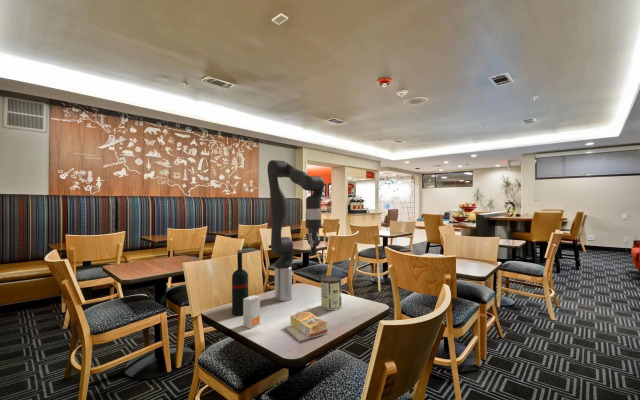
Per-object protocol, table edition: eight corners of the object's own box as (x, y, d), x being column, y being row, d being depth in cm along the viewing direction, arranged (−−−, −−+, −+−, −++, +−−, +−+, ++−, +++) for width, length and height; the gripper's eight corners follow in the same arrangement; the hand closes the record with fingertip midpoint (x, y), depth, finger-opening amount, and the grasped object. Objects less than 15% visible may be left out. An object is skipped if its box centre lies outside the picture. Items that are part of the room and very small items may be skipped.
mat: (285, 327, 127) (285, 326, 127) (312, 321, 134) (312, 320, 134) (299, 341, 115) (299, 339, 115) (328, 333, 121) (328, 332, 121)
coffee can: (330, 301, 159) (330, 274, 159) (345, 306, 152) (345, 278, 152) (316, 307, 151) (316, 278, 151) (332, 312, 144) (332, 282, 144)
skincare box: (250, 329, 126) (250, 300, 126) (243, 326, 129) (242, 298, 129) (260, 323, 132) (260, 296, 132) (253, 321, 134) (252, 294, 134)
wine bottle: (251, 308, 151) (251, 247, 151) (246, 315, 141) (245, 251, 141) (236, 308, 151) (235, 248, 151) (229, 316, 141) (228, 251, 141)
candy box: (307, 310, 134) (328, 321, 121) (307, 320, 134) (328, 332, 121) (289, 315, 129) (309, 327, 116) (290, 325, 129) (309, 338, 116)
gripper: (327, 218, 140) (327, 256, 140) (314, 217, 151) (314, 251, 152) (312, 219, 136) (312, 257, 136) (300, 217, 148) (300, 253, 148)
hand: (313, 254), depth 144 cm, fingers closed
